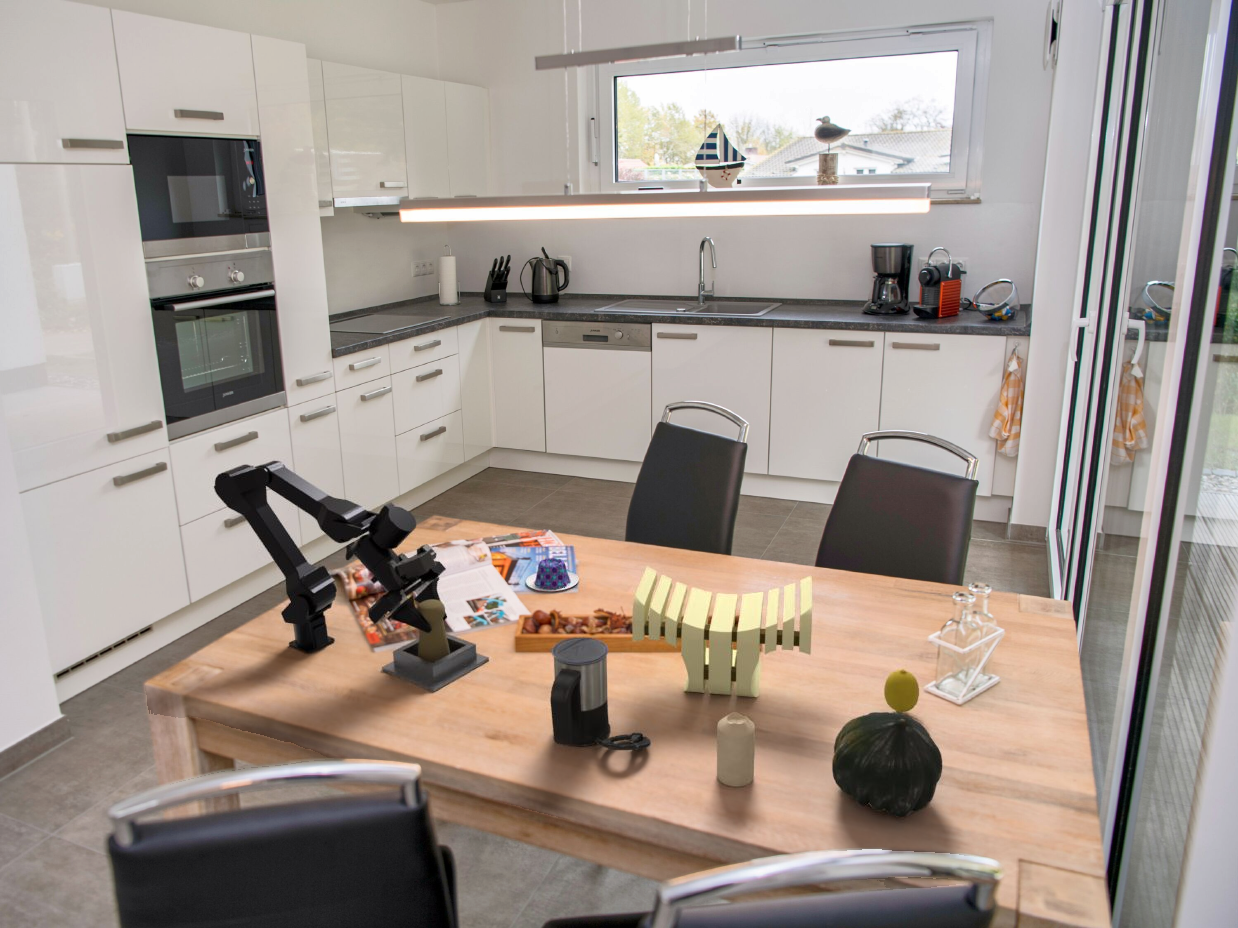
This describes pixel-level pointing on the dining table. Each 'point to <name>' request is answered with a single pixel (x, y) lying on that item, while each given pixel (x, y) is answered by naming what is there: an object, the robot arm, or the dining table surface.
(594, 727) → the milk frother
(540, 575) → the pudding
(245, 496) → the robot arm
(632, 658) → the dining table surface
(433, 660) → the cork
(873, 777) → the squash
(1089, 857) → the dining table surface
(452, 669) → the collar holder
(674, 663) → the dining table surface
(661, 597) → the slatted curved stool
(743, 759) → the candle
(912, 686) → the lemon
